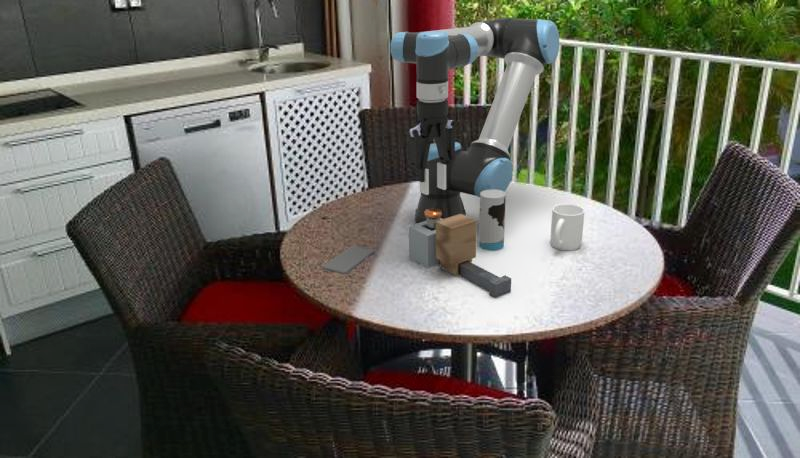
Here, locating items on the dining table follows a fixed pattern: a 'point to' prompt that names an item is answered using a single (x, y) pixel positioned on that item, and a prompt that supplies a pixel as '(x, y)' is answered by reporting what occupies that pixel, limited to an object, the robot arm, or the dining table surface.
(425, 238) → the grey block with hole
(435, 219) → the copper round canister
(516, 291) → the dining table surface
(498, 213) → the white printed can
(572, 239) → the mug
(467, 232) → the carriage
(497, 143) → the robot arm
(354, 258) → the smartphone
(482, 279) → the rail
